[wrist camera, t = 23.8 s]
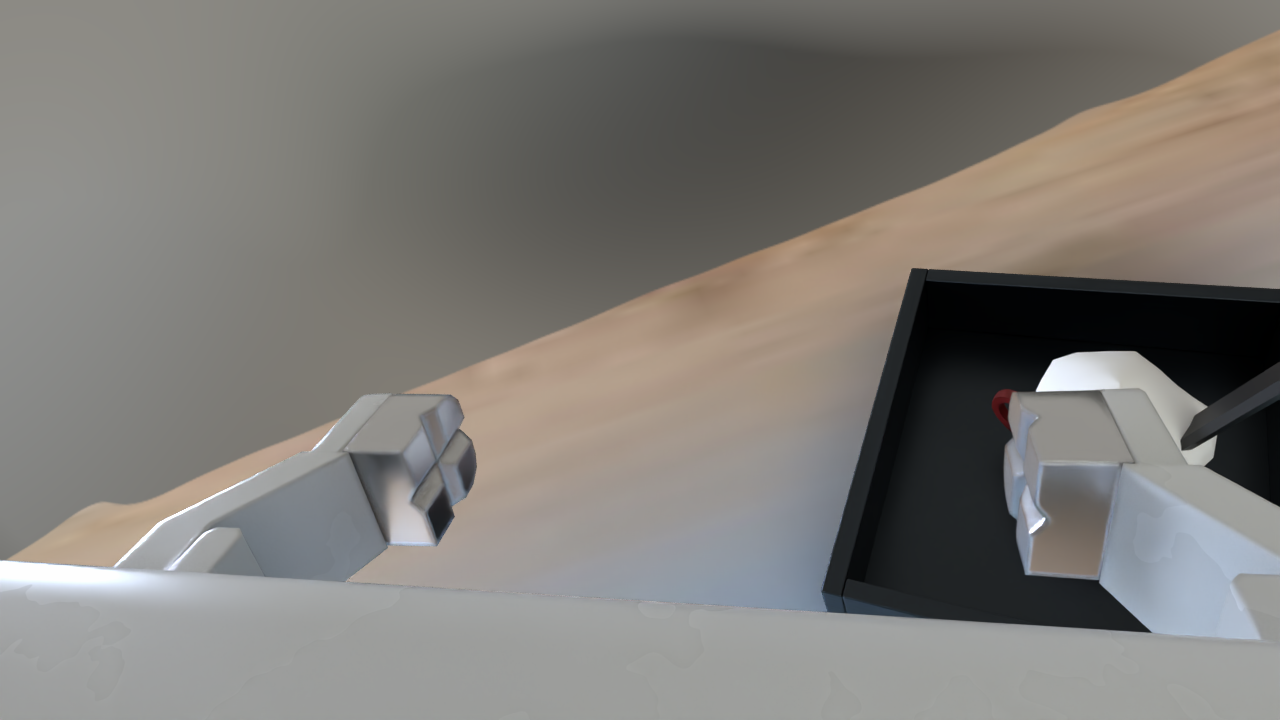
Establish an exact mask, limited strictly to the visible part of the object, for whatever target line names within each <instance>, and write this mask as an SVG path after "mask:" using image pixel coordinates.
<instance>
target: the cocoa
mask: <svg viewBox="0 0 1280 720" xmlns="http://www.w3.org/2000/svg"><path fill="white" fill-rule="evenodd" d="M1127 388H1140V389H1141V390H1143V391H1145V392H1146V394H1147V395H1148V397H1149V399H1150V401H1151V402H1152V404H1153V406H1154V407H1155V409H1156V411H1157V412H1158V414H1159V416H1160V418H1161V419H1162V421H1163V423H1164V424H1165V426H1166V428H1167V429H1168V431H1169V433H1170V435H1171V436H1172V438H1173V440H1174V441H1175V443H1176V445H1177V446H1178V448H1179V450H1180V452H1181V453H1182V455H1183V457H1184V458H1185V460H1186V462H1187V463H1188V465H1203V466H1205V465H1206V464H1207V463H1208V462H1209V461H1210V460H1211V459H1213V457H1214V451H1215V445H1216V439H1217V435H1218V434H1220V433H1222V432H1223V431H1225V430H1227V429H1229V428H1230V427H1232V426H1234V425H1236V424H1237V423H1239V422H1241V421H1243V420H1244V419H1246V418H1248V417H1250V416H1251V415H1253V414H1255V413H1257V412H1258V411H1260V410H1262V409H1264V408H1265V407H1267V406H1269V405H1270V404H1272V403H1274V402H1276V401H1277V400H1279V399H1280V362H1278V363H1277V364H1275V365H1274V366H1272V367H1270V368H1269V369H1267V370H1266V371H1264V372H1263V373H1261V374H1259V375H1258V376H1256V377H1255V378H1253V379H1251V380H1250V381H1248V382H1247V383H1245V384H1244V385H1242V386H1240V387H1239V388H1237V389H1236V390H1234V391H1232V392H1231V393H1229V394H1228V395H1226V396H1225V397H1223V398H1221V399H1220V400H1218V401H1217V402H1215V403H1213V404H1212V405H1210V406H1209V407H1207V406H1206V405H1204V404H1203V403H1201V402H1200V401H1198V400H1196V399H1195V398H1194V397H1192V396H1191V395H1190V394H1188V393H1187V392H1185V391H1184V390H1183V389H1181V388H1180V387H1179V386H1177V385H1176V384H1175V383H1174V382H1173V381H1172V380H1171V379H1170V378H1169V377H1167V376H1166V375H1165V374H1164V373H1163V372H1162V371H1161V370H1160V369H1159V368H1157V367H1156V366H1155V365H1153V364H1152V363H1151V362H1149V361H1148V360H1147V359H1145V358H1144V357H1142V356H1141V355H1140V354H1138V353H1137V352H1136V351H1102V352H1078V353H1073V354H1070V355H1067V356H1064V357H1061V358H1057V359H1054V360H1053V361H1052V363H1051V364H1050V366H1049V368H1048V369H1047V371H1046V373H1045V374H1044V376H1043V378H1042V379H1041V381H1040V383H1039V385H1038V388H1037V390H1036V392H1043V391H1082V390H1101V389H1127ZM1012 392H1017V391H1014V390H1010V389H1004V390H1001V391H999V392H998V393H997V394H996V395H995V397H994V398H993V401H992V409H993V411H994V413H995V415H996V416H997V418H998V419H999V420H1000V421H1001V422H1002V423H1003V425H1004V426H1005V427H1006V428H1007V429H1008V430H1009V431H1010V432H1011V428H1010V424H1009V421H1008V409H1007V408H1006V406H1005V404H1004V403H1010V399H1011V395H1012ZM1011 433H1012V432H1011Z"/></svg>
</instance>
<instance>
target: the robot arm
mask: <svg viewBox="0 0 1280 720" xmlns="http://www.w3.org/2000/svg"><path fill="white" fill-rule="evenodd" d="M463 419H464V415H463V412H462V409H461V406H460V403H459V401H458V399H456V398H455V397H453V396H452V395H440V394H369V395H364V396H361V397H360V399H359V400H358V401H357V402H356V403H355V404H354V405H353V406H352V407H351V408H350V409H349V410H348V412H347V413H346V414H345V415H344V416H343V417H342V418H341V419H340V420H339V421H338V422H337V423H336V425H335V426H334V427H333V428H332V429H331V430H330V431H329V432H328V433H327V434H326V435H325V437H324V438H323V439H322V440H321V441H320V442H319V443H318V444H317V445H316V446H315V447H314V449H313V450H312V451H311V452H300V453H298V454H296V455H294V456H292V457H290V458H288V459H286V460H284V461H282V462H280V463H278V464H276V465H274V466H272V467H270V468H268V469H266V470H264V471H262V472H260V473H258V474H256V475H254V476H252V477H250V478H248V479H246V480H244V481H242V482H240V483H238V484H236V485H234V486H232V487H230V488H228V489H226V490H224V491H222V492H220V493H218V494H215V495H213V496H211V497H209V498H207V499H205V500H203V501H201V502H199V503H197V504H195V505H193V506H191V507H189V508H187V509H185V510H183V511H181V512H179V513H177V514H175V515H173V516H171V517H169V518H167V519H165V520H163V521H161V522H159V523H158V524H157V525H156V526H155V527H154V528H153V529H152V530H151V531H150V532H149V533H148V534H147V535H146V536H144V537H143V538H142V539H141V540H140V541H139V542H138V543H137V544H136V545H135V546H134V547H133V548H132V549H131V550H130V551H129V552H128V553H127V554H126V555H125V556H124V557H123V558H122V559H121V560H120V561H118V562H117V563H116V564H115V565H114V566H113V567H102V566H86V565H70V564H54V563H38V562H23V561H7V560H0V720H1280V507H1279V506H1277V505H1275V504H1273V503H1271V502H1269V501H1267V500H1266V499H1264V498H1262V497H1260V496H1258V495H1256V494H1255V493H1253V492H1251V491H1249V490H1247V489H1245V488H1243V487H1242V486H1240V485H1238V484H1236V483H1234V482H1232V481H1230V480H1229V479H1227V478H1225V477H1223V476H1221V475H1219V474H1217V473H1216V472H1214V471H1212V470H1210V469H1208V468H1206V467H1205V466H1203V465H1188V463H1187V462H1186V460H1185V458H1184V457H1183V455H1182V453H1181V452H1180V450H1179V448H1178V446H1177V445H1176V443H1175V441H1174V440H1173V438H1172V436H1171V435H1170V433H1169V431H1168V429H1167V428H1166V426H1165V424H1164V423H1163V421H1162V419H1161V418H1160V416H1159V414H1158V412H1157V411H1156V409H1155V407H1154V406H1153V404H1152V402H1151V401H1150V399H1149V397H1148V395H1147V394H1146V392H1145V391H1143V390H1141V389H1140V388H1127V389H1101V390H1082V391H1043V392H1012V395H1011V399H1010V403H1009V411H1008V421H1009V424H1010V428H1011V432H1012V435H1013V438H1012V439H1011V440H1010V441H1009V442H1008V443H1007V444H1006V445H1005V452H1004V490H1005V496H1006V502H1007V506H1008V510H1009V514H1010V515H1012V516H1013V517H1014V518H1016V519H1017V527H1016V536H1015V538H1016V542H1017V545H1018V549H1019V553H1020V557H1021V560H1022V564H1023V568H1024V572H1025V575H1036V576H1050V577H1064V578H1078V579H1091V580H1100V582H1099V583H1100V584H1101V585H1102V586H1103V587H1104V588H1105V589H1106V590H1107V591H1108V592H1109V593H1110V594H1111V595H1113V596H1114V597H1115V598H1116V599H1117V600H1118V601H1119V602H1120V603H1121V604H1122V605H1123V606H1124V607H1125V608H1126V609H1128V610H1129V611H1130V612H1131V613H1132V614H1133V615H1134V616H1135V617H1136V618H1137V619H1138V620H1139V621H1140V622H1141V623H1142V624H1144V625H1145V626H1146V627H1147V628H1148V629H1149V630H1150V631H1151V632H1152V633H1146V632H1130V631H1115V630H1099V629H1083V628H1068V627H1052V626H1037V625H1021V624H1005V623H989V622H973V621H957V620H941V619H925V618H910V617H894V616H878V615H862V614H846V613H830V612H814V611H798V610H782V609H766V608H750V607H734V606H719V605H703V604H687V603H671V602H655V601H640V600H624V599H608V598H592V597H576V596H561V595H545V594H529V593H513V592H497V591H482V590H466V589H450V588H434V587H418V586H403V585H387V584H371V583H355V582H345V581H346V580H347V579H349V578H350V577H351V576H352V575H354V574H355V573H356V572H358V571H359V570H360V569H361V568H363V567H364V566H365V565H366V564H368V563H369V562H370V561H372V560H373V559H374V558H375V557H377V556H378V555H379V554H381V553H382V552H383V551H384V550H386V549H387V548H388V547H387V545H394V546H437V545H438V544H439V542H440V540H441V539H442V537H443V535H444V534H445V532H446V530H447V529H448V527H449V525H450V524H451V522H452V520H453V519H454V517H455V516H454V513H453V510H452V506H453V505H455V504H456V503H458V502H459V501H461V500H463V499H464V498H466V497H467V495H468V493H469V491H470V489H471V488H472V486H473V483H474V478H475V473H476V468H477V465H476V453H475V450H474V446H473V443H472V440H471V439H470V438H469V437H468V436H467V435H466V434H465V433H464V432H462V431H461V430H460V429H459V428H460V426H461V424H462V422H463Z"/></svg>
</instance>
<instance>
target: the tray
mask: <svg viewBox="0 0 1280 720" xmlns="http://www.w3.org/2000/svg"><path fill="white" fill-rule="evenodd" d="M1102 351H1136V352H1137V353H1138V354H1140V355H1141V356H1142V357H1144V358H1145V359H1147V360H1148V361H1149V362H1151V363H1152V364H1153V365H1155V366H1156V367H1157V368H1159V369H1160V370H1161V371H1162V372H1163V373H1164V374H1165V375H1166V376H1167V377H1169V378H1170V379H1171V380H1172V381H1173V382H1174V383H1175V384H1176V385H1177V386H1179V387H1180V388H1181V389H1183V390H1184V391H1185V392H1187V393H1188V394H1190V395H1191V396H1192V397H1194V398H1195V399H1196V400H1198V401H1200V402H1201V403H1203V404H1204V405H1206V406H1207V407H1209V406H1210V405H1212V404H1213V403H1215V402H1217V401H1218V400H1220V399H1221V398H1223V397H1225V396H1226V395H1228V394H1229V393H1231V392H1232V391H1234V390H1236V389H1237V388H1239V387H1240V386H1242V385H1244V384H1245V383H1247V382H1248V381H1250V380H1251V379H1253V378H1255V377H1256V376H1258V375H1259V374H1261V373H1263V372H1264V371H1266V370H1267V369H1269V368H1270V367H1272V366H1274V365H1275V364H1277V363H1278V362H1280V289H1269V288H1252V287H1234V286H1216V285H1199V284H1181V283H1164V282H1146V281H1128V280H1111V279H1093V278H1075V277H1058V276H1040V275H1023V274H1005V273H987V272H970V271H952V270H934V269H929V270H928V269H918V268H912V269H911V273H910V276H909V280H908V283H907V287H906V290H905V294H904V298H903V301H902V305H901V308H900V312H899V315H898V319H897V322H896V326H895V330H894V333H893V337H892V340H891V344H890V347H889V351H888V354H887V358H886V362H885V365H884V369H883V372H882V376H881V379H880V383H879V386H878V390H877V394H876V397H875V401H874V404H873V408H872V411H871V415H870V418H869V422H868V426H867V429H866V433H865V436H864V440H863V443H862V447H861V451H860V454H859V458H858V461H857V465H856V468H855V472H854V475H853V479H852V483H851V486H850V490H849V493H848V497H847V500H846V504H845V507H844V511H843V515H842V518H841V522H840V525H839V529H838V532H837V536H836V539H835V543H834V547H833V550H832V554H831V557H830V561H829V564H828V568H827V571H826V575H825V579H824V582H823V586H822V589H821V592H822V595H823V599H824V602H825V605H826V608H827V612H830V613H846V614H862V615H878V616H894V617H910V618H925V619H941V620H957V621H973V622H989V623H1005V624H1021V625H1037V626H1052V627H1068V628H1083V629H1099V630H1115V631H1130V632H1146V633H1152V632H1151V631H1150V630H1149V629H1148V628H1147V627H1146V626H1145V625H1144V624H1142V623H1141V622H1140V621H1139V620H1138V619H1137V618H1136V617H1135V616H1134V615H1133V614H1132V613H1131V612H1130V611H1129V610H1128V609H1126V608H1125V607H1124V606H1123V605H1122V604H1121V603H1120V602H1119V601H1118V600H1117V599H1116V598H1115V597H1114V596H1113V595H1111V594H1110V593H1109V592H1108V591H1107V590H1106V589H1105V588H1104V587H1103V586H1102V585H1101V584H1100V583H1099V582H1100V580H1091V579H1078V578H1064V577H1050V576H1036V575H1025V572H1024V568H1023V564H1022V560H1021V557H1020V553H1019V549H1018V545H1017V542H1016V538H1015V536H1016V527H1017V519H1016V518H1014V517H1013V516H1012V515H1010V514H1009V510H1008V506H1007V502H1006V496H1005V490H1004V452H1005V445H1006V444H1007V443H1008V442H1009V441H1010V440H1011V439H1012V438H1013V435H1012V433H1011V432H1010V431H1009V430H1008V429H1007V428H1006V427H1005V426H1004V425H1003V423H1002V422H1001V421H1000V420H999V419H998V418H997V416H996V415H995V413H994V411H993V409H992V401H993V398H994V397H995V395H996V394H997V393H998V392H999V391H1001V390H1004V389H1010V390H1014V391H1017V392H1036V390H1037V388H1038V385H1039V383H1040V381H1041V379H1042V378H1043V376H1044V374H1045V373H1046V371H1047V369H1048V368H1049V366H1050V364H1051V363H1052V361H1053V360H1054V359H1057V358H1061V357H1064V356H1067V355H1070V354H1073V353H1078V352H1102ZM1004 404H1005V406H1006V408H1007V409H1008V411H1009V403H1004ZM1205 467H1206V468H1208V469H1210V470H1212V471H1214V472H1216V473H1217V474H1219V475H1221V476H1223V477H1225V478H1227V479H1229V480H1230V481H1232V482H1234V483H1236V484H1238V485H1240V486H1242V487H1243V488H1245V489H1247V490H1249V491H1251V492H1253V493H1255V494H1256V495H1258V496H1260V497H1262V498H1264V499H1266V500H1267V501H1269V502H1271V503H1273V504H1275V505H1277V506H1279V507H1280V399H1279V400H1277V401H1276V402H1274V403H1272V404H1270V405H1269V406H1267V407H1265V408H1264V409H1262V410H1260V411H1258V412H1257V413H1255V414H1253V415H1251V416H1250V417H1248V418H1246V419H1244V420H1243V421H1241V422H1239V423H1237V424H1236V425H1234V426H1232V427H1230V428H1229V429H1227V430H1225V431H1223V432H1222V433H1220V434H1218V435H1217V439H1216V445H1215V451H1214V457H1213V459H1211V460H1210V461H1209V462H1208V463H1207V464H1206V465H1205Z"/></svg>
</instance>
